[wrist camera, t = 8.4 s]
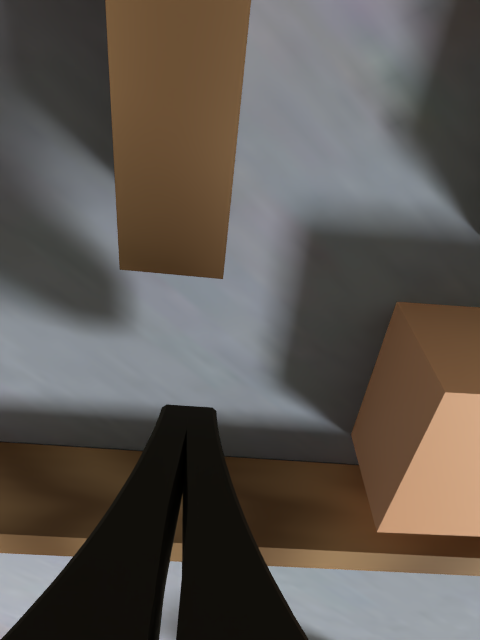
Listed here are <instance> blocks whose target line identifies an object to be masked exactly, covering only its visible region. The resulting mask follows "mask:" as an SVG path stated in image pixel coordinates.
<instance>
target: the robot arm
mask: <svg viewBox="0 0 480 640" xmlns="http://www.w3.org/2000/svg"><path fill="white" fill-rule="evenodd" d="M182 494H183V517H182V583H181V594H180V605H179V616H178V627H177V638H176V640H308V638H307V636H306V635H305V633H304V631H303V630H302V628H301V626H300V625H299V623H298V621H297V620H296V618H295V616H294V615H293V613H292V611H291V609H290V607H289V606H288V604H287V602H286V600H285V598H284V596H283V595H282V593H281V591H280V589H279V587H278V586H277V584H276V582H275V580H274V578H273V576H272V575H271V573H270V571H269V568H268V566H267V564H266V562H265V560H264V558H263V556H262V554H261V552H260V550H259V548H258V546H257V544H256V541H255V539H254V537H253V535H252V532H251V530H250V528H249V525H248V523H247V521H246V518H245V516H244V513H243V511H242V508H241V505H240V503H239V500H238V498H237V495H236V492H235V489H234V486H233V483H232V480H231V477H230V474H229V471H228V467H227V464H226V461H225V457H224V453H223V449H222V445H221V441H220V436H219V431H218V425H217V416H216V410H214V409H213V408H209V407H194V406H179V405H165V406H164V407H162V409H161V412H160V415H159V418H158V421H157V423H156V426H155V428H154V430H153V432H152V435H151V437H150V439H149V441H148V443H147V445H146V447H145V449H144V451H143V452H142V454H141V456H140V458H139V460H138V462H137V463H136V465H135V467H134V469H133V471H132V472H131V474H130V476H129V477H128V479H127V481H126V482H125V484H124V485H123V487H122V489H121V490H120V492H119V493H118V495H117V497H116V498H115V500H114V501H113V503H112V504H111V506H110V507H109V509H108V510H107V512H106V513H105V515H104V516H103V518H102V519H101V520H100V522H99V523H98V525H97V526H96V527H95V529H94V530H93V532H92V533H91V534H90V536H89V537H88V538H87V540H86V541H85V542H84V544H83V545H82V546H81V548H80V549H79V550H78V551H77V553H76V554H75V555H74V556H73V558H72V559H71V560H70V561H69V563H68V564H67V565H66V567H65V568H64V569H63V570H62V571H61V573H60V574H59V575H58V576H57V577H56V579H55V580H54V581H53V582H52V583H51V585H50V586H49V587H48V588H47V589H46V590H45V591H44V593H43V594H42V595H41V596H40V597H39V598H38V599H37V600H36V601H35V603H34V604H33V605H32V606H31V607H30V608H29V609H28V610H27V612H26V613H25V614H24V615H23V616H22V617H21V618H20V619H19V621H18V622H17V623H16V624H15V625H14V626H13V627H12V628H11V629H10V630H9V631H8V632H7V633H6V635H5V636H4V637H3V638H2V639H1V640H159V634H160V625H161V616H162V607H163V598H164V591H165V585H166V579H167V573H168V568H169V563H170V558H171V552H172V547H173V542H174V537H175V531H176V526H177V521H178V516H179V510H180V505H181V500H182Z"/></svg>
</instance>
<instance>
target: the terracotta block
mask: <svg viewBox="0 0 480 640" xmlns="http://www.w3.org/2000/svg"><path fill="white" fill-rule="evenodd" d="M351 436H352V440H353V444H354V448H355V452H356V455H357V459H358V463H359V467H360V471H361V474H362V478H363V482H364V486H365V490H366V493H367V497H368V501H369V505H370V508H371V512H372V516H373V520H374V524H375V527H376V531H377V532H385V533H408V534H431V535H455V536H478V537H480V307H466V306H451V305H437V304H422V303H407V302H396V305H395V308H394V311H393V314H392V317H391V320H390V323H389V326H388V329H387V331H386V334H385V337H384V340H383V343H382V346H381V349H380V352H379V355H378V358H377V361H376V363H375V366H374V369H373V372H372V375H371V378H370V381H369V384H368V387H367V390H366V393H365V395H364V398H363V401H362V404H361V407H360V410H359V413H358V416H357V419H356V422H355V425H354V427H353V430H352V433H351Z"/></svg>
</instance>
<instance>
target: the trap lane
mask: <svg viewBox="0 0 480 640" xmlns="http://www.w3.org/2000/svg"><path fill="white" fill-rule="evenodd" d="M105 5H106V23H107V42H108V60H109V79H110V98H111V116H112V135H113V153H114V172H115V190H116V209H117V228H118V246H119V265H120V270H131V271H142V272H153V273H163V274H174V275H185V276H196V277H207V278H218V279H223V273H224V263H225V253H226V243H227V233H228V223H229V213H230V203H231V194H232V184H233V174H234V164H235V154H236V144H237V134H238V124H239V114H240V104H241V94H242V84H243V74H244V64H245V54H246V44H247V34H248V25H249V15H250V5H251V0H105ZM142 452H143V451H130V450H114V449H99V448H84V447H68V446H53V445H37V444H22V443H6V442H0V553H12V554H33V555H54V556H74V555H75V554H76V553H77V551H78V550H79V549H80V548H81V546H82V545H83V544H84V542H85V541H86V540H87V538H88V537H89V536H90V534H91V533H92V532H93V530H94V529H95V527H96V526H97V525H98V523H99V522H100V520H101V519H102V518H103V516H104V515H105V513H106V512H107V510H108V509H109V507H110V506H111V504H112V503H113V501H114V500H115V498H116V497H117V495H118V493H119V492H120V490H121V489H122V487H123V485H124V484H125V482H126V481H127V479H128V477H129V476H130V474H131V472H132V471H133V469H134V467H135V465H136V463H137V462H138V460H139V458H140V456H141V454H142ZM225 461H226V464H227V467H228V471H229V474H230V477H231V480H232V483H233V486H234V489H235V492H236V495H237V498H238V500H239V503H240V505H241V508H242V511H243V513H244V516H245V518H246V521H247V523H248V525H249V528H250V530H251V532H252V535H253V537H254V539H255V541H256V544H257V546H258V548H259V550H260V552H261V554H262V556H263V558H264V560H265V562H266V564H267V566H283V567H304V568H325V569H345V570H366V571H387V572H408V573H429V574H450V575H470V576H480V537H478V536H455V535H431V534H408V533H385V532H377V531H376V527H375V524H374V520H373V516H372V512H371V508H370V505H369V501H368V497H367V493H366V490H365V486H364V482H363V478H362V474H361V471H360V467H359V465H346V464H331V463H315V462H300V461H285V460H269V459H254V458H238V457H225ZM182 517H183V494H182V500H181V505H180V510H179V516H178V521H177V526H176V531H175V537H174V542H173V547H172V552H171V558H170V561H179V562H182Z"/></svg>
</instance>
